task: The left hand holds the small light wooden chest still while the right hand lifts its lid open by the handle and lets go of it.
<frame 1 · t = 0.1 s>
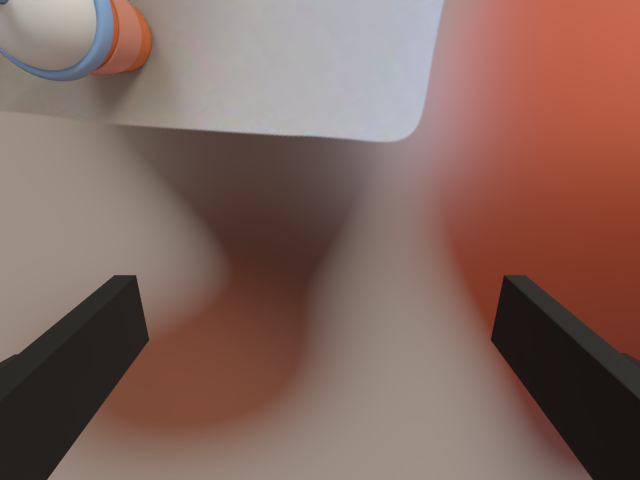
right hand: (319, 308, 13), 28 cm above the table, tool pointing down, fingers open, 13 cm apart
cup with straw: (121, 36, 34), on the table
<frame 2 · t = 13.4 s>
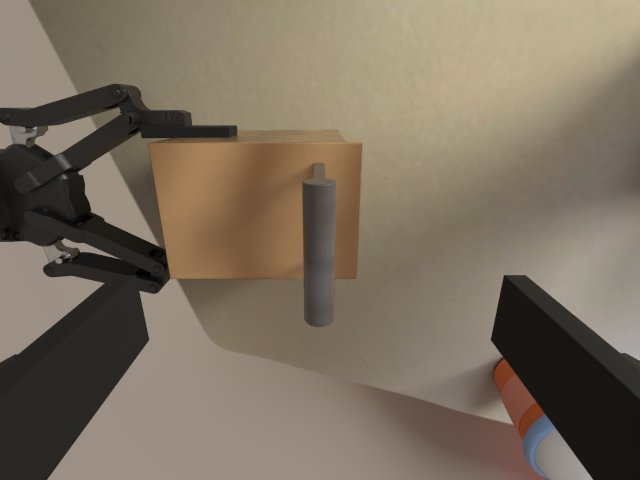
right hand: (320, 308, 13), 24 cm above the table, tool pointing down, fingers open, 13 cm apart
left hand: (238, 196, 29), fingers closed on chest, 9 cm apart
cup with straw: (517, 370, 44), on the table
lid: (251, 231, 21), point 16 cm above the table, hinge at 0.0°
chest: (274, 179, 36), on the table, touching left hand
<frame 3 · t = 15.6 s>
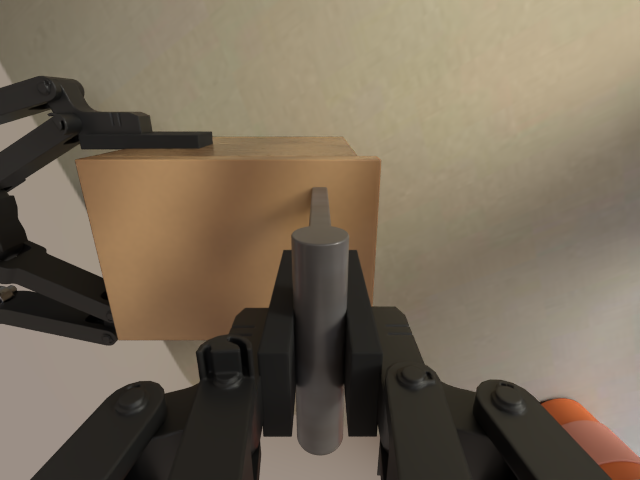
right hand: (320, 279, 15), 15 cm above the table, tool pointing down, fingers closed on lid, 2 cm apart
cup with straw: (553, 418, 37), on the table
lid: (219, 290, 14), point 16 cm above the table, hinge at -0.1°, touching right hand
chest: (264, 197, 29), on the table, touching left hand
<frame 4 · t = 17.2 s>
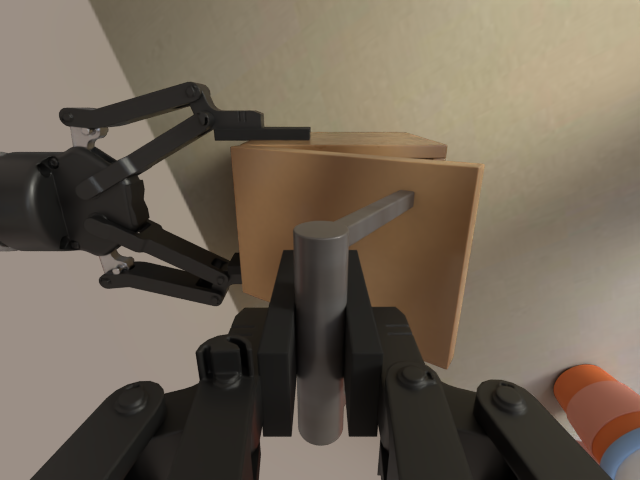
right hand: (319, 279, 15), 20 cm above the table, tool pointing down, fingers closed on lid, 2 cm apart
left hand: (310, 202, 27), fingers closed on chest, 9 cm apart
cup with straw: (578, 383, 42), on the table
lid: (290, 269, 16), point 19 cm above the table, hinge at 33.7°, touching right hand
chest: (335, 184, 34), on the table, touching left hand
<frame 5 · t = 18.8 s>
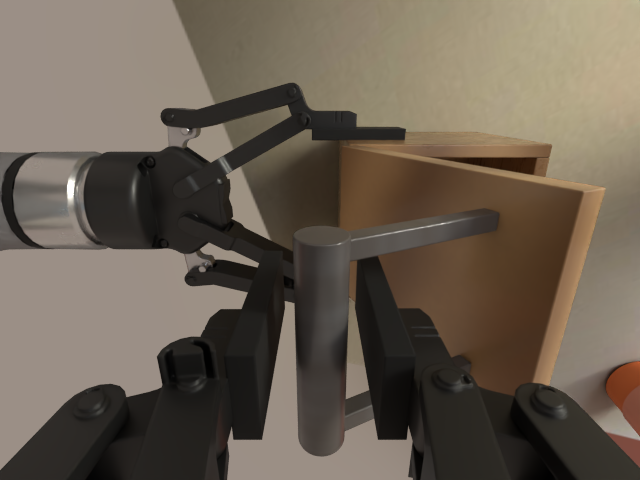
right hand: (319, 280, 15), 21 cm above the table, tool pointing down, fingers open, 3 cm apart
left hand: (395, 201, 28), fingers closed on chest, 9 cm apart
cup with straw: (630, 380, 43), on the table
lid: (351, 273, 16), point 20 cm above the table, hinge at 63.5°
chest: (404, 183, 34), on the table, touching left hand
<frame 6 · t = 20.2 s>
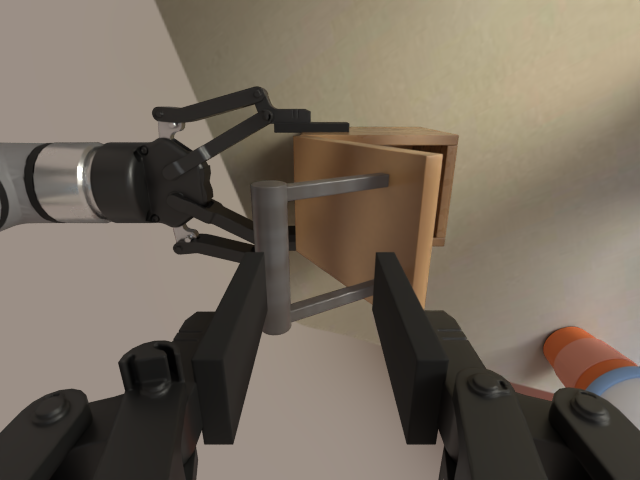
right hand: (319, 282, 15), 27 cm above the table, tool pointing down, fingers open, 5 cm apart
left hand: (346, 183, 34), fingers closed on chest, 9 cm apart
cup with straw: (564, 343, 49), on the table
lid: (298, 225, 22), point 20 cm above the table, hinge at 59.3°
chest: (360, 170, 40), on the table, touching left hand
when the left hand's fingers open (7 cm above the table, at t = 22.8 s): chest stays where it is, on the table.
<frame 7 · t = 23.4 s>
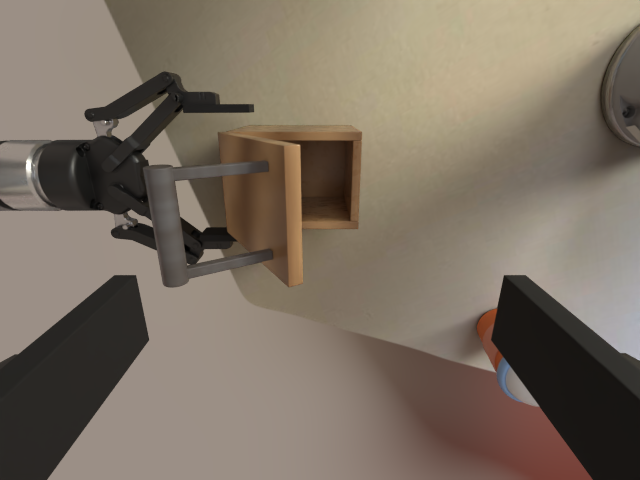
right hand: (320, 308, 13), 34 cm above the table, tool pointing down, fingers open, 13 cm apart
left hand: (256, 175, 38), fingers open, 13 cm apart
cup with straw: (496, 324, 53), on the table
lid: (208, 205, 27), point 20 cm above the table, hinge at 58.6°
chest: (300, 164, 45), on the table
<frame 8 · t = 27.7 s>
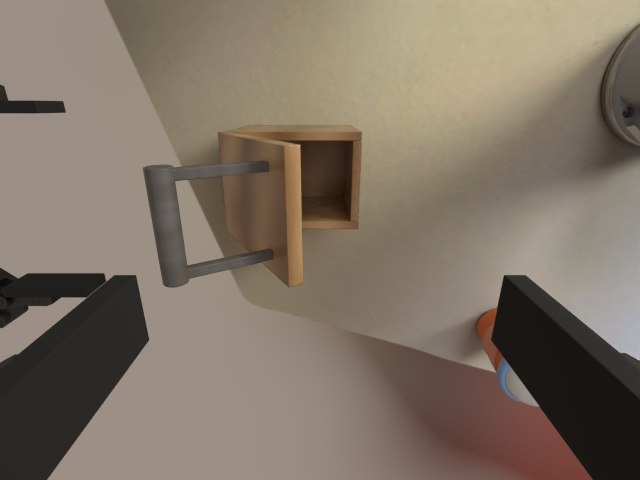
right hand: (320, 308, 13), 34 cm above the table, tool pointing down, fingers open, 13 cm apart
cup with straw: (496, 324, 53), on the table
lid: (208, 205, 27), point 20 cm above the table, hinge at 58.5°
chest: (300, 164, 45), on the table
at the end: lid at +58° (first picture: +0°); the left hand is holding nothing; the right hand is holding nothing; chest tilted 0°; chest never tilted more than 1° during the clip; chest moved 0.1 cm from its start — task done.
